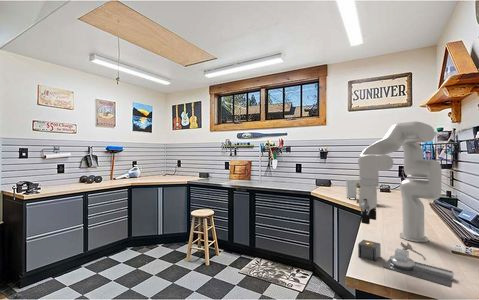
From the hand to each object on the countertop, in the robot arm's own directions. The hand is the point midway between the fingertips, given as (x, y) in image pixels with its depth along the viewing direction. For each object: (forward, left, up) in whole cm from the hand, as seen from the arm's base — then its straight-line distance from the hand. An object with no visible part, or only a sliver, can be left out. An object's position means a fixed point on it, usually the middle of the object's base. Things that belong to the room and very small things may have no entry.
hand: (368, 221), depth 105 cm
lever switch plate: (0, +17, -16) cm, 23 cm away
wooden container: (-122, -37, -16) cm, 129 cm away
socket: (0, 0, -16) cm, 16 cm away
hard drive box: (-141, -52, -16) cm, 151 cm away
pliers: (-20, +10, -16) cm, 28 cm away
